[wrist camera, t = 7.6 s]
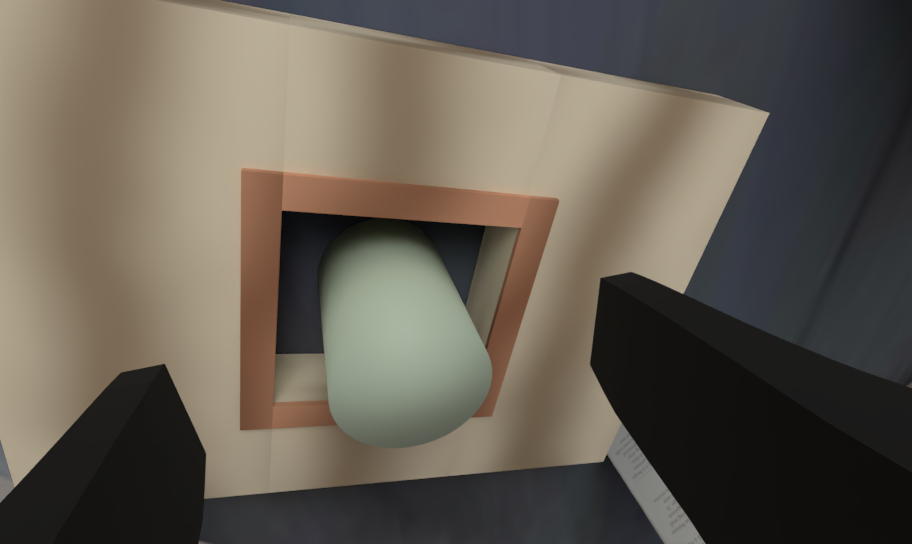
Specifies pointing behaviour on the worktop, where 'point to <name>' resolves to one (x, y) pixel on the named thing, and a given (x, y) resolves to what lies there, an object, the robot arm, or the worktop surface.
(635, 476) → the skincare box
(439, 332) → the green peg
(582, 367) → the hole plate
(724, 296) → the worktop surface
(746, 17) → the worktop surface
